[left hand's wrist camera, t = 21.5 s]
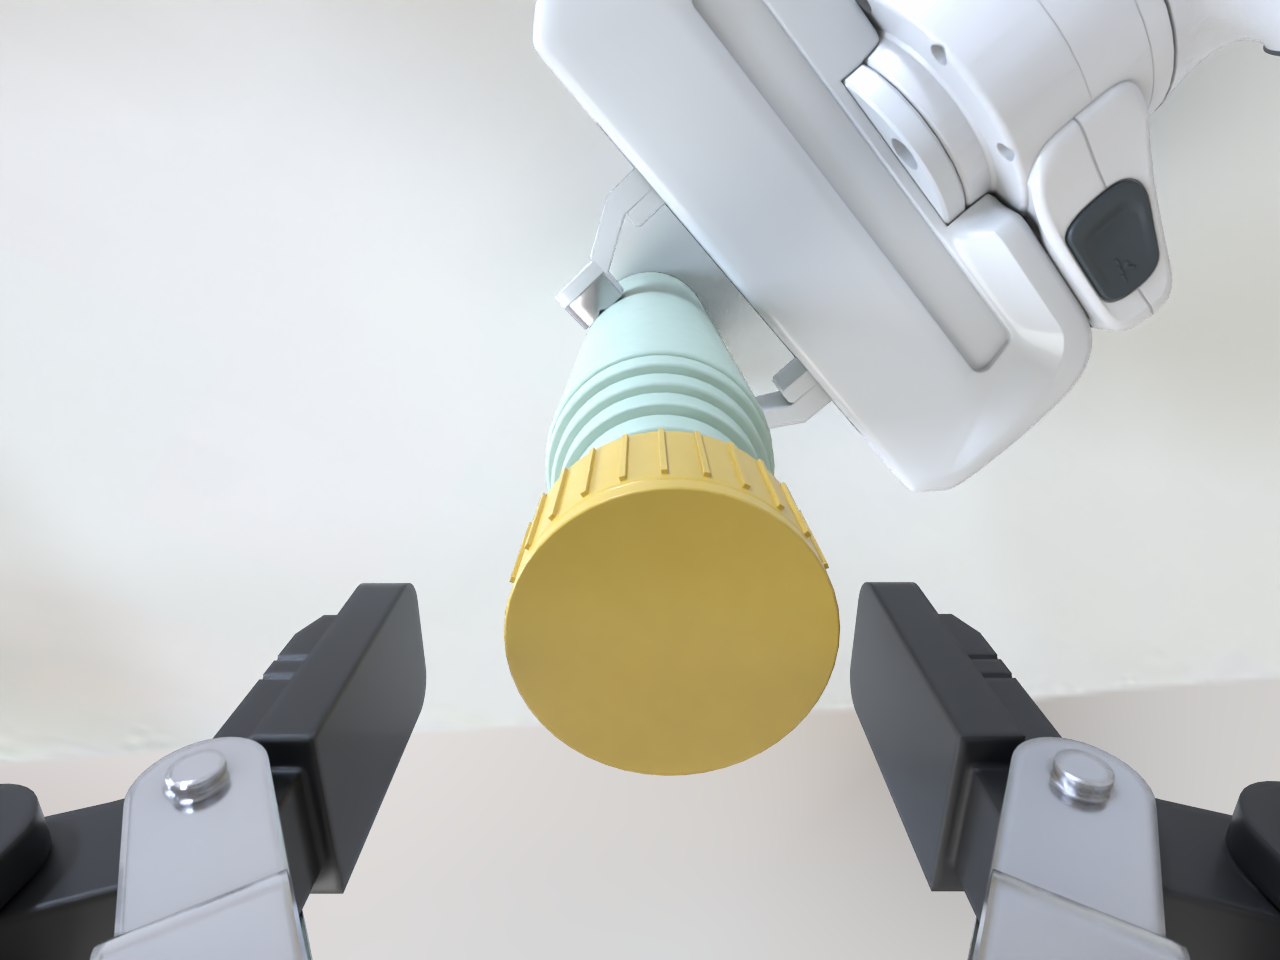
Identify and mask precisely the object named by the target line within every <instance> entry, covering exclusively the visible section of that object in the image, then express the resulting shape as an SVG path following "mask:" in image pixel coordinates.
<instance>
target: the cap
mask: <svg viewBox="0 0 1280 960" xmlns="http://www.w3.org/2000/svg"><path fill="white" fill-rule="evenodd" d="M827 568H829V567H828V564H827V562H826V560H825V558H824V556H823V554H822V552H821V550H820V548H819V546H818V544H817V542H816V540H815V538H814V536H813V534H812V532H811V530H810V529H809V527H808V525H807V523H806V521H805V519H804V517H803V515H802V513H801V511H800V510H799V509H798V507H797V505H796V503H795V501H794V499H793V498H792V496H791V494H790V492H789V490H788V488H787V486H786V484H785V483H784V482H783V483H781V484H780V483H779V482H778V481H777V479H776V478H775V477H774V476H773V474H772V473H771V472H769V471H768V470H767V468H766V466H765V464H764V461H762V460H761V459H758V461H757V460H756V459H754V458H753V457H751V456H750V455H749V454H747V453H746V452H744V451H742V450H740V449H738V448H737V447H735V444H734V443H733V442H731V441H729V442H728V443H726V442H724V441H721V440H718V439H715V438H713V437H710V436H705V435H701V434H700V431H694V433H691V432H681V431H664V428H659V429H658V431H653V432H646V433H640V434H634V435H631V436H628V434H624V435H622V438H620V439H617V440H614V441H612V442H610V443H607V444H605V445H603V446H601V447H598V448H597V449H595V448H594V447H593V448H591V449H589V453H588V454H587V455H585V456H583V457H582V458H581V459H580V460H578V461H577V462H576V463H575V464H573V465H572V466H571V467H570V468H568V469H567V468H564V469H563V470H562V471H561V475H560V478H559V479H558V480H557V481H556V482H555V484H554V485H553V486H552V488H551V489H550V491H549V492H548V493H547V495H546V494H544V493H543V494H542V496H541V498H540V501H539V504H538V507H537V510H536V513H535V516H534V519H533V522H532V523H531V522H530V523H529V525H528V528H527V531H526V534H525V537H524V540H523V543H522V546H521V549H520V551H519V554H518V557H517V560H516V563H515V566H514V569H513V572H512V575H511V578H510V582H512V583H514V584H513V587H512V590H511V593H510V596H509V599H508V604H507V607H506V610H505V626H504V641H505V650H506V657H507V661H508V664H509V668H510V672H511V675H512V677H513V680H514V682H515V684H516V686H517V689H518V691H519V693H520V695H521V696H522V698H523V699H524V701H525V703H526V704H527V706H528V708H529V709H530V710H531V711H532V713H533V714H534V715H535V716H536V718H537V719H538V720H539V721H540V722H541V723H542V724H543V725H544V726H545V727H546V728H547V729H548V730H549V731H550V732H551V733H552V734H553V735H554V736H556V737H557V738H558V739H560V740H561V741H562V742H564V743H565V744H566V745H568V746H569V747H571V748H573V749H574V750H576V751H578V752H580V753H581V754H583V755H585V756H587V757H589V758H591V759H593V760H596V761H598V762H601V763H603V764H605V765H608V766H612V767H615V768H618V769H622V770H626V771H631V772H636V773H642V774H651V775H664V776H667V775H689V774H697V773H704V772H709V771H713V770H717V769H721V768H725V767H728V766H731V765H734V764H736V763H739V762H742V761H745V760H747V759H749V758H751V757H753V756H755V755H757V754H759V753H761V752H763V751H764V750H766V749H767V748H769V747H771V746H772V745H774V744H775V743H777V742H778V741H780V740H781V739H782V738H783V737H785V736H786V735H787V734H788V733H790V732H791V731H792V730H793V729H794V728H795V727H796V726H797V725H798V724H799V723H800V722H801V721H802V720H803V719H804V718H805V717H806V716H807V715H808V713H809V712H810V711H811V709H812V708H813V707H814V705H815V704H816V703H817V701H818V700H819V698H820V696H821V694H822V693H823V691H824V689H825V687H826V685H827V683H828V681H829V678H830V676H831V673H832V670H833V668H834V665H835V661H836V656H837V652H838V647H839V635H840V622H839V609H838V605H837V601H836V596H835V592H834V589H833V586H832V584H831V581H830V579H829V577H828V574H827V572H826V570H825V569H827Z"/></svg>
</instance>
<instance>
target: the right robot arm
mask: <svg viewBox="0 0 1280 960" xmlns="http://www.w3.org/2000/svg"><path fill="white" fill-rule="evenodd" d="M1240 40H1255V41H1258V42H1261V43H1263V44H1264V46H1263V50H1264V51H1265V52H1266V53H1268V54H1272V55H1276V56H1280V0H537V2H536V5H535V13H534V25H533V43H534V47H535V49H536V51H537V52H538V54H539V56H540V57H541V58H542V59H543V61H544V62H545V63H546V64H547V65H548V67H549V68H550V69H551V70H552V71H553V72H554V74H555V75H556V76H557V77H558V78H559V80H560V81H561V82H562V83H563V84H564V85H565V87H566V88H567V89H568V90H569V91H570V93H571V94H572V95H573V96H574V97H575V98H576V100H577V101H578V102H579V103H580V104H581V106H582V107H583V108H584V109H585V110H586V111H587V113H588V114H589V115H590V116H591V117H592V118H593V120H594V121H595V122H596V123H597V124H598V126H599V127H600V128H601V129H602V130H603V131H604V133H605V134H606V135H607V136H608V137H609V138H610V140H611V141H612V142H613V143H614V144H615V146H616V147H617V148H618V149H619V150H620V151H621V153H622V154H623V155H624V156H625V157H626V159H627V160H628V161H629V162H630V163H631V164H632V166H633V167H634V169H633V170H632V171H631V172H630V173H629V174H628V175H627V176H626V177H625V178H624V179H623V180H622V181H621V182H620V183H619V184H618V185H617V186H616V187H615V188H614V189H613V190H612V191H611V192H610V193H609V194H608V195H607V199H606V202H605V206H604V209H603V213H602V217H601V220H600V224H599V227H598V231H597V234H596V238H595V241H594V245H593V248H592V252H591V255H590V258H591V259H592V260H591V261H590V262H589V263H588V264H587V265H586V266H585V267H584V268H583V269H582V270H581V271H580V272H579V273H578V274H577V275H576V276H575V277H574V278H573V279H572V280H571V281H570V282H569V283H568V284H567V285H566V286H565V287H564V288H563V289H562V290H561V291H560V292H559V293H558V294H557V295H556V296H555V297H554V298H555V299H556V300H557V301H558V302H559V303H560V304H561V306H562V307H563V308H565V310H566V311H567V312H568V313H569V314H570V315H571V316H572V317H573V318H574V319H575V320H576V321H577V322H578V323H579V324H580V325H581V326H582V327H583V328H584V329H587V328H588V327H589V326H590V325H592V324H593V323H594V322H595V320H596V319H597V318H598V317H599V314H600V312H601V310H603V309H607V308H609V307H610V306H611V305H613V304H614V303H615V302H616V301H617V300H618V299H619V298H620V297H621V296H622V295H623V291H624V288H623V287H622V286H621V285H620V284H619V282H618V281H617V280H616V279H615V278H614V277H613V275H612V274H611V273H610V272H609V269H610V265H611V262H612V259H613V255H614V252H615V249H616V245H617V242H618V239H619V235H620V232H621V229H622V225H623V222H624V218H625V215H626V214H627V213H628V218H629V219H630V220H631V221H632V222H633V224H634V225H635V226H642V225H643V224H644V223H645V222H646V221H647V220H648V219H649V218H650V217H651V216H652V215H653V214H654V213H656V212H657V211H658V210H659V209H660V208H661V207H662V206H663V205H664V204H666V206H667V207H668V208H669V209H670V210H671V212H672V213H673V214H674V215H675V216H676V217H677V219H678V220H679V221H680V222H681V223H682V225H683V226H684V227H685V228H686V229H687V230H688V232H689V233H690V234H691V235H692V236H693V237H694V239H695V240H696V241H697V242H698V243H699V245H700V246H701V247H702V248H703V249H704V250H705V252H706V253H707V254H708V255H709V256H710V258H711V259H712V260H713V261H714V262H715V263H716V265H717V266H718V267H719V268H720V269H721V270H722V272H723V273H724V274H725V275H726V276H727V278H728V279H729V280H730V281H731V282H732V283H733V285H734V286H735V287H736V288H737V289H738V291H739V292H740V293H741V294H742V295H743V296H744V298H745V299H746V300H747V301H748V302H749V303H750V305H751V306H752V307H753V308H754V309H755V311H756V312H757V313H758V314H759V315H760V316H761V318H762V319H763V320H764V321H765V322H766V324H767V325H768V326H769V327H770V328H771V329H772V331H773V332H774V333H775V334H776V335H777V336H778V338H779V339H780V340H781V341H782V342H783V344H784V345H785V346H786V347H787V348H788V349H789V351H790V352H791V353H792V354H793V355H794V357H795V358H794V359H793V360H792V361H791V362H789V363H788V364H787V365H786V366H785V367H784V368H783V369H781V370H780V371H779V372H778V373H777V374H776V375H775V376H773V382H774V383H775V385H776V386H777V388H778V389H779V391H778V392H774V393H770V394H766V395H761V396H757V397H755V398H756V400H757V402H758V403H759V405H760V407H761V409H762V411H763V413H764V415H765V418H766V421H767V423H768V426H769V429H771V428H776V427H782V426H787V425H793V424H798V423H803V422H806V421H807V420H808V419H809V418H811V417H812V416H813V415H814V414H816V413H817V412H818V411H819V410H820V409H822V408H823V407H824V406H825V405H827V404H828V403H829V402H830V401H833V402H834V404H835V405H836V406H837V407H838V408H839V410H840V411H841V412H842V413H843V414H844V415H845V417H846V418H847V419H848V420H849V421H850V423H851V424H852V425H853V426H854V427H855V428H856V430H857V431H858V432H859V433H860V434H861V435H862V437H863V438H864V439H865V440H866V441H867V443H868V444H869V445H870V446H871V447H872V448H873V450H874V451H875V452H876V453H877V454H878V455H879V457H880V458H881V459H882V460H883V461H884V463H885V464H886V465H887V466H888V467H889V468H890V470H891V471H892V472H893V473H894V474H895V475H896V477H897V478H898V479H899V480H900V481H901V482H902V483H903V484H904V485H905V486H906V487H907V488H908V489H909V490H911V491H913V492H930V491H941V490H948V489H951V488H954V487H955V486H957V485H959V484H961V483H962V482H964V481H965V480H967V479H968V478H970V477H971V476H972V475H974V474H975V473H977V472H978V471H979V470H981V469H982V468H983V467H984V466H986V465H987V464H988V463H990V462H991V461H992V460H993V459H995V458H996V457H997V456H998V455H1000V454H1001V453H1002V452H1003V451H1005V450H1006V449H1007V448H1008V447H1009V446H1011V445H1012V444H1013V443H1014V442H1016V441H1017V440H1018V439H1019V438H1020V437H1021V436H1022V435H1024V434H1025V433H1026V432H1027V431H1028V430H1029V429H1031V428H1032V427H1033V426H1034V425H1035V424H1036V423H1037V422H1038V421H1040V420H1041V419H1042V418H1043V417H1044V416H1045V415H1046V414H1047V413H1048V412H1049V411H1050V410H1051V409H1053V408H1054V407H1055V406H1056V405H1057V404H1058V403H1059V402H1060V401H1061V400H1062V399H1063V398H1064V397H1065V396H1066V394H1067V393H1068V392H1069V391H1070V390H1071V389H1072V387H1073V386H1074V385H1075V384H1076V382H1077V381H1078V379H1079V378H1080V376H1081V375H1082V373H1083V371H1084V369H1085V367H1086V365H1087V363H1088V360H1089V357H1090V353H1091V348H1092V332H1091V327H1092V328H1097V329H1104V330H1111V331H1124V330H1128V329H1130V328H1132V327H1135V326H1136V325H1138V324H1140V323H1141V322H1143V321H1144V320H1146V319H1147V318H1148V317H1150V316H1151V315H1152V314H1154V313H1155V312H1156V311H1157V310H1158V309H1159V308H1161V307H1162V305H1163V304H1164V303H1165V302H1166V301H1167V299H1168V297H1169V295H1170V292H1171V288H1172V273H1171V267H1170V261H1169V257H1168V252H1167V247H1166V242H1165V237H1164V232H1163V227H1162V222H1161V217H1160V211H1159V206H1158V200H1157V194H1156V187H1155V181H1154V174H1153V166H1152V157H1151V148H1150V134H1149V120H1148V116H1149V115H1150V114H1151V113H1152V112H1154V111H1155V110H1156V109H1157V108H1158V107H1159V106H1160V105H1161V104H1162V103H1163V102H1164V100H1165V99H1166V98H1167V97H1168V95H1169V94H1170V93H1171V92H1172V91H1173V89H1174V88H1175V87H1176V86H1177V85H1178V83H1179V82H1180V81H1181V80H1182V79H1183V78H1184V77H1185V75H1186V74H1187V73H1188V72H1189V71H1190V70H1191V69H1192V68H1193V67H1194V66H1196V65H1197V64H1198V63H1199V62H1201V61H1202V60H1203V59H1204V58H1205V57H1207V56H1208V55H1210V54H1211V53H1213V52H1214V51H1216V50H1218V49H1220V48H1222V47H1225V46H1227V45H1229V44H1231V43H1234V42H1237V41H1240Z"/></svg>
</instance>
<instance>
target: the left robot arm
mask: <svg viewBox="0 0 1280 960" xmlns="http://www.w3.org/2000/svg"><path fill="white" fill-rule="evenodd" d="M850 685H851V694H852V699H853V704H854V707H855V710H856V713H857V715H858V717H859V720H860V722H861V725H862V727H863V729H864V732H865V734H866V737H867V739H868V741H869V744H870V746H871V748H872V751H873V753H874V756H875V758H876V760H877V763H878V765H879V767H880V770H881V772H882V775H883V777H884V779H885V782H886V784H887V786H888V789H889V791H890V794H891V796H892V798H893V801H894V803H895V806H896V808H897V810H898V813H899V815H900V817H901V820H902V822H903V825H904V827H905V829H906V832H907V834H908V836H909V839H910V841H911V844H912V846H913V848H914V851H915V853H916V855H917V858H918V860H919V862H920V865H921V867H922V870H923V872H924V875H925V877H926V879H927V882H928V884H929V886H930V889H931V891H965V893H966V895H967V898H968V900H969V902H970V904H971V906H972V908H973V910H974V913H975V915H976V920H975V925H974V929H973V934H972V939H971V945H970V950H969V955H968V960H1280V782H1279V781H1265V782H1257V783H1254V784H1251V785H1249V786H1247V787H1246V788H1244V790H1243V791H1242V792H1241V794H1240V796H1239V799H1238V802H1237V805H1236V807H1235V810H1234V813H1233V816H1232V815H1227V814H1223V813H1218V812H1214V811H1209V810H1205V809H1200V808H1196V807H1191V806H1187V805H1183V804H1178V803H1174V802H1169V801H1165V800H1160V799H1157V798H1155V797H1154V794H1153V792H1152V790H1151V788H1150V787H1149V786H1148V784H1147V783H1146V781H1145V780H1144V779H1143V778H1142V777H1141V776H1140V775H1139V774H1138V773H1137V772H1136V771H1135V770H1134V769H1132V768H1131V767H1130V766H1129V765H1127V764H1126V763H1124V762H1123V761H1121V760H1120V759H1118V758H1117V757H1115V756H1113V755H1111V754H1109V753H1108V752H1106V751H1103V750H1101V749H1099V748H1097V747H1094V746H1092V745H1089V744H1086V743H1083V742H1079V741H1075V740H1072V739H1066V738H1062V737H1061V736H1060V735H1059V733H1058V732H1057V731H1056V729H1055V728H1054V727H1053V726H1052V724H1051V723H1050V722H1049V721H1048V719H1047V718H1046V717H1045V715H1044V714H1043V713H1042V712H1041V710H1040V709H1039V708H1038V706H1037V705H1036V704H1035V703H1034V701H1033V700H1032V699H1031V697H1030V696H1029V695H1028V694H1027V692H1026V691H1025V690H1024V689H1023V687H1022V686H1021V685H1020V683H1019V682H1018V681H1017V680H1016V678H1012V673H1011V672H1010V671H1009V669H1008V668H1007V667H1006V665H1005V664H1004V663H1003V662H1002V660H1001V659H997V654H996V653H995V651H994V650H993V649H992V648H991V646H990V645H989V644H988V642H987V641H986V640H985V639H984V637H983V636H982V635H981V633H979V632H978V631H976V630H975V629H973V628H972V627H970V626H969V625H967V624H966V623H964V622H963V621H961V620H960V619H958V618H957V617H955V616H954V615H952V614H938V613H937V612H936V610H935V609H934V607H933V606H932V605H931V603H930V602H929V600H928V599H927V598H926V596H925V595H924V593H923V592H922V591H921V589H920V588H919V586H918V585H917V584H916V583H913V582H866V583H864V584H863V585H862V587H861V590H860V594H859V600H858V609H857V617H856V625H855V634H854V642H853V650H852V659H851V668H850ZM425 689H426V666H425V658H424V650H423V642H422V633H421V625H420V617H419V609H418V600H417V595H416V591H415V588H414V586H413V585H412V584H410V583H362V584H360V585H359V586H358V587H357V588H356V590H355V591H354V592H353V594H352V595H351V597H350V598H349V599H348V601H347V602H346V604H345V605H344V606H343V608H342V609H341V610H340V612H339V613H338V615H324V616H322V617H321V618H319V619H317V620H316V621H314V622H313V623H311V624H310V625H308V626H307V627H305V628H304V629H302V630H301V631H299V632H298V633H296V634H295V635H294V636H293V638H292V639H291V640H290V641H289V643H288V644H287V645H286V646H285V648H284V649H283V650H282V652H281V653H280V654H279V655H278V660H277V661H274V662H273V663H272V664H271V665H270V667H269V668H268V669H267V671H266V672H265V673H264V674H263V680H259V681H258V682H257V683H256V684H255V686H254V687H253V688H252V690H251V691H250V692H249V693H248V695H247V696H246V697H245V698H244V700H243V701H242V702H241V703H240V705H239V706H238V707H237V709H236V710H235V711H234V712H233V714H232V715H231V716H230V717H229V719H228V720H227V721H226V722H225V724H224V725H223V726H222V728H221V729H220V730H219V731H218V733H217V734H216V735H215V736H214V738H213V739H208V740H205V741H201V742H197V743H194V744H191V745H188V746H186V747H183V748H181V749H179V750H177V751H174V752H172V753H171V754H169V755H167V756H165V757H163V758H162V759H160V760H159V761H157V762H156V763H154V764H153V765H151V766H150V767H149V768H148V769H147V770H145V771H144V772H143V773H142V774H141V775H140V776H139V777H138V778H137V779H136V780H135V782H134V783H133V784H132V786H131V787H130V788H129V790H128V792H127V794H126V797H125V799H121V800H117V801H113V802H110V803H105V804H101V805H96V806H92V807H87V808H83V809H78V810H74V811H69V812H65V813H60V814H56V815H51V816H47V817H44V815H43V813H42V810H41V807H40V804H39V802H38V799H37V796H36V795H35V794H34V792H33V791H32V790H30V789H29V788H27V787H24V786H21V785H15V784H0V960H312V955H311V950H310V945H309V939H308V934H307V929H306V925H305V920H304V916H303V911H302V909H303V906H304V904H305V902H306V900H307V898H308V896H309V894H311V893H312V894H313V893H314V894H317V893H318V894H320V893H321V894H325V893H326V894H329V893H330V894H334V893H335V894H341V893H343V892H344V890H345V888H346V885H347V883H348V881H349V878H350V876H351V874H352V871H353V869H354V866H355V864H356V862H357V860H358V857H359V855H360V853H361V850H362V848H363V846H364V843H365V841H366V838H367V836H368V834H369V831H370V829H371V827H372V824H373V822H374V820H375V817H376V815H377V813H378V810H379V808H380V806H381V803H382V801H383V799H384V796H385V794H386V792H387V789H388V787H389V785H390V782H391V780H392V777H393V775H394V773H395V771H396V768H397V766H398V763H399V761H400V759H401V756H402V754H403V752H404V749H405V747H406V745H407V742H408V740H409V738H410V735H411V733H412V731H413V728H414V726H415V724H416V721H417V719H418V717H419V714H420V712H421V709H422V706H423V702H424V696H425Z"/></svg>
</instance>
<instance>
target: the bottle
mask: <svg viewBox="0 0 1280 960" xmlns="http://www.w3.org/2000/svg"><path fill="white" fill-rule="evenodd" d="M619 284H620V285H621V286H622V287H623V288H624V291H623V295H622V296H621V297H620V298H619V299H618V300H617V301H616V302H615V303H614V304H613V305H611V306H610V307H609V308H607V309H603V310H601V312H600V314H599V317H598V318H597V319H596V320H595V322H594V323H593V324H592V325H590V327H589V330H588V332H587V335H586V337H585V340H584V343H583V345H582V348H581V350H580V353H579V355H578V358H577V360H576V363H575V365H574V368H573V370H572V373H571V375H570V378H569V380H568V383H567V385H566V388H565V390H564V393H563V395H562V398H561V400H560V403H559V406H558V408H557V411H556V413H555V416H554V418H553V421H552V424H551V426H550V430H549V434H548V439H547V446H546V480H547V487H548V492H549V491H550V489H551V488H552V486H553V485H554V484H555V482H556V481H557V480H558V479H559V478H560V475H561V471H562V470H563V469H564V468H567V469H568V468H570V467H571V466H572V465H573V464H575V463H576V462H577V461H578V460H580V459H581V458H582V457H583V456H585V455H587V454H588V453H589V449H591V448H593V447H594V448H595V449H597V448H598V447H601V446H603V445H605V444H607V443H610V442H612V441H614V440H617V439H620V438H622V435H624V434H628V436H631V435H634V434H640V433H646V432H653V431H658V429H659V428H664V431H681V432H691V433H694V431H700V434H701V435H705V436H710V437H713V438H715V439H718V440H721V441H724V442H726V443H728V442H729V441H731V442H733V443H734V444H735V447H737V448H738V449H740V450H742V451H744V452H746V453H747V454H749V455H750V456H751V457H753V458H754V459H756V460H757V461H758V459H761V460H762V461H764V464H765V466H766V468H767V470H768V471H769V472H771V473H772V474H773V476H774V455H773V449H772V439H771V435H770V430H769V426H768V423H767V421H766V418H765V415H764V413H763V411H762V409H761V407H760V405H759V403H758V402H757V400H756V398H755V396H754V395H753V393H752V391H751V389H750V388H749V386H748V384H747V382H746V381H745V379H744V377H743V375H742V374H741V372H740V370H739V368H738V367H737V365H736V363H735V362H734V360H733V358H732V356H731V355H730V353H729V351H728V349H727V348H726V346H725V344H724V342H723V341H722V339H721V337H720V335H719V334H718V332H717V330H716V328H715V327H714V325H713V323H712V321H711V320H710V318H709V316H708V314H707V313H706V311H705V309H704V307H703V306H702V304H701V302H700V301H699V299H698V297H697V296H696V295H695V293H694V292H693V291H692V290H691V289H690V288H689V287H688V286H687V285H686V284H685V283H683V282H682V281H680V280H679V279H677V278H675V277H673V276H670V275H667V274H664V273H658V272H642V273H637V274H633V275H630V276H628V277H626V278H624V279H622V280H620V281H619Z"/></svg>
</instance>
